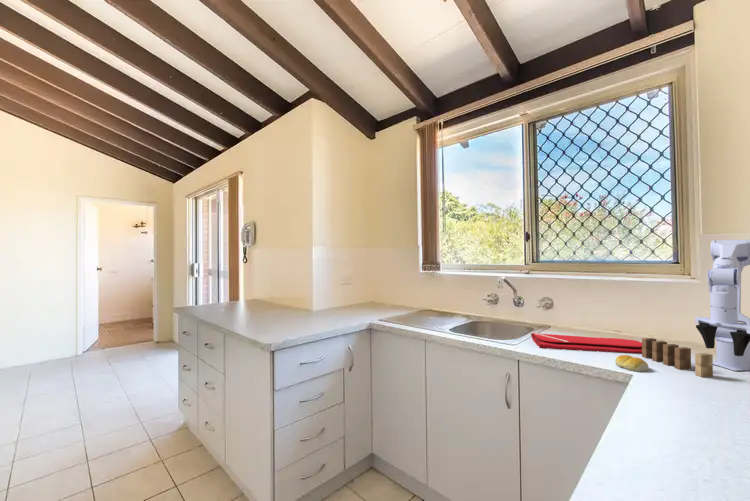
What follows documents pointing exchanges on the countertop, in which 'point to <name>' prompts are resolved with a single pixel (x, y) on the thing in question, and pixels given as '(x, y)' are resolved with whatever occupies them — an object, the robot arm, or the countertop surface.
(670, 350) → the domino
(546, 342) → the dish drying mat
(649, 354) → the domino
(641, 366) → the bread roll
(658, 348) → the domino
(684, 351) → the domino
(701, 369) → the domino
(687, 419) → the countertop surface
